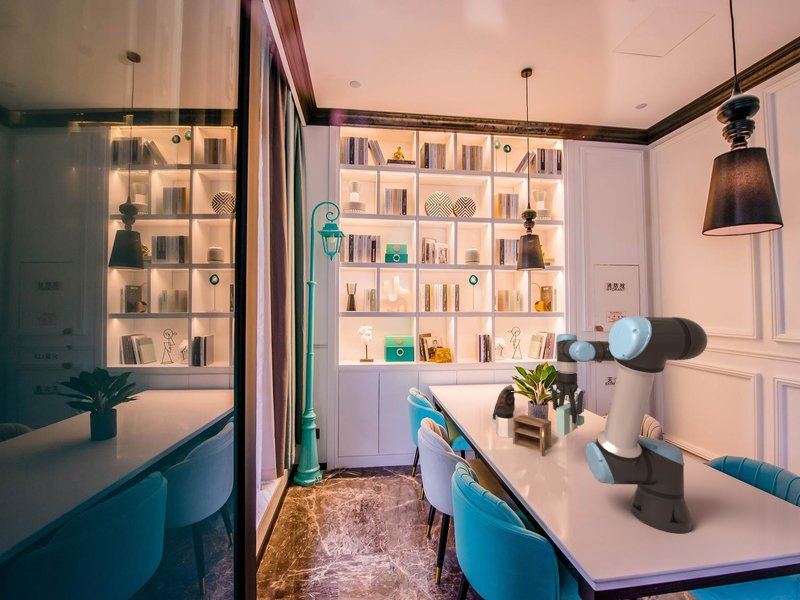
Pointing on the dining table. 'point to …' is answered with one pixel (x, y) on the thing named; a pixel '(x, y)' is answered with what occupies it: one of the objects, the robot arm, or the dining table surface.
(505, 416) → the jar
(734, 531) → the dining table surface
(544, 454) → the hinge pin
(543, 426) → the cabinet
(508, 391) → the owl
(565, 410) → the door
